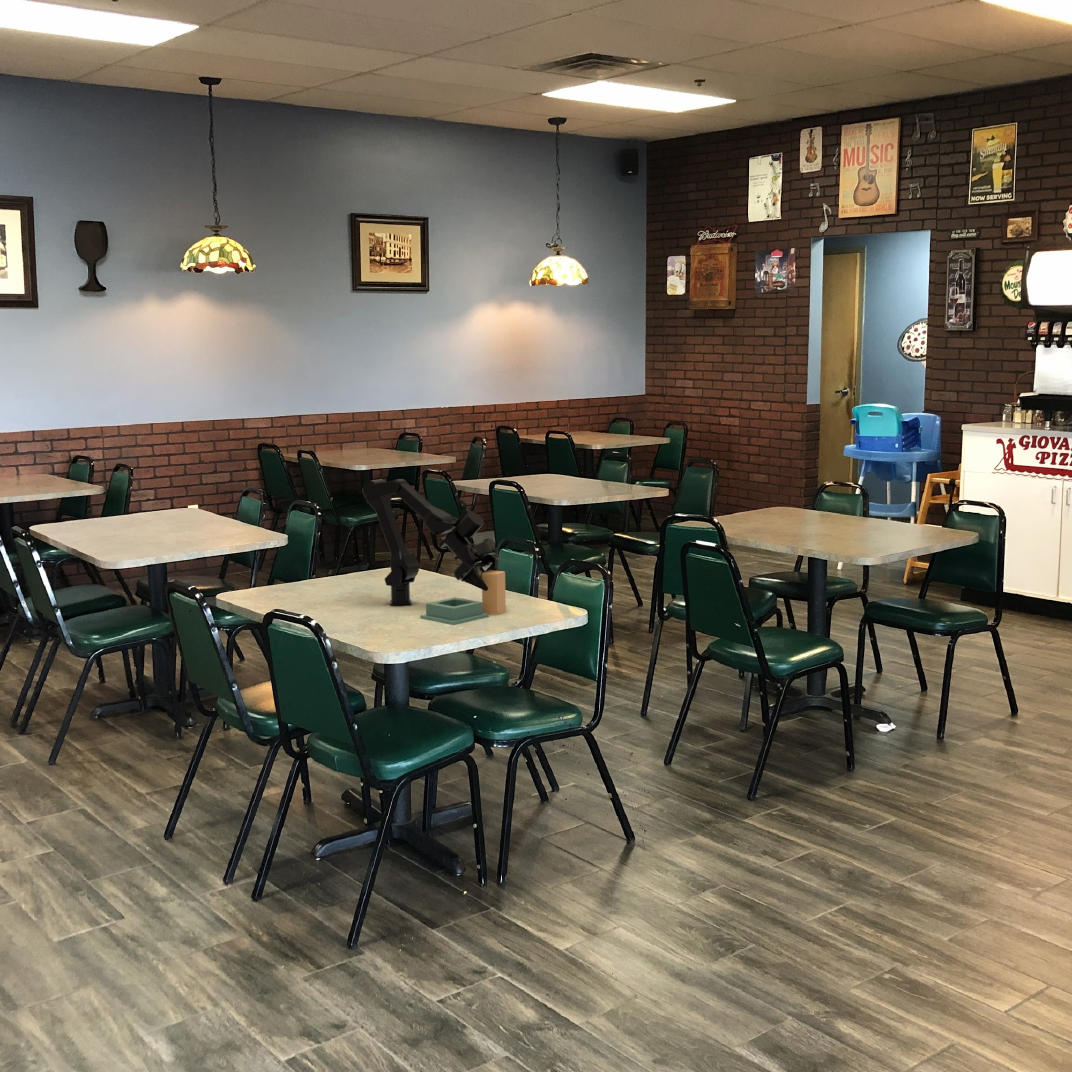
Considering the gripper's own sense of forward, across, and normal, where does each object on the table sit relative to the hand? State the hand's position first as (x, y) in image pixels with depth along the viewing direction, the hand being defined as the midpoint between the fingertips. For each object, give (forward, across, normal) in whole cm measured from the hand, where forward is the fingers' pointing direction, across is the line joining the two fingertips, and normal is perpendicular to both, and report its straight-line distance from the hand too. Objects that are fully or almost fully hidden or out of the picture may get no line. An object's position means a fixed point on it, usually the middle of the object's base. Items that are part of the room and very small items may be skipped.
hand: (495, 587), depth 356 cm
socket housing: (0, -11, +11) cm, 15 cm away
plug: (+5, 0, +6) cm, 8 cm away
